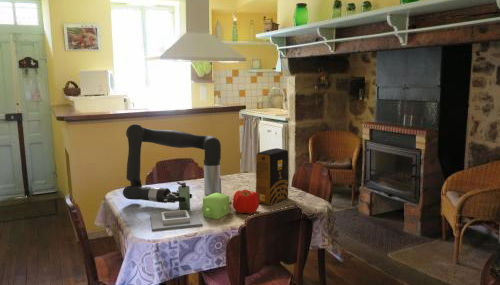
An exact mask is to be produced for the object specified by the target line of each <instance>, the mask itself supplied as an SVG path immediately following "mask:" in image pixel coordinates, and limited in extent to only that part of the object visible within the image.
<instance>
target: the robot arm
mask: <svg viewBox="0 0 500 285" xmlns="http://www.w3.org/2000/svg"><path fill="white" fill-rule="evenodd" d="M125 134H126V138H127V142H128V143H127V144H128V151H127V152H128V153H127V163H126V180H127V181H128V182H129V184H130V185H127V186H126V187H124V188H123V189H122V195H123V198H125V199H127V200H135V201H137V200H138V201H139V200H141V201H149V202H154V203H162V204H167V203H168V204H169V203H170V204H176V203H179V202H186V198H185V197H179V196H178V190H176V191H171V190H170V188H167V187H165V188H164V187H155V186H154V187H151V186H143V184H142V180H141V164H142V163H141V155H142V154H141V152H142V143H143V142H144V143H151V144H156V145H160V146H164V147H170V148H175V149H176V148H177V149H186V148H187V149H188V148H194V149H199V150H203V151H204V158H203V183H204V184H203V185H204V186H203V187H204V188H203V189H204V195H205V196H208V195H211V194H213V193H221V194H222V177H221V157H222V152H221V150H222V148H221V146H222V145H221V141H220V140H219V139H218V137H215V136H213V135H198V134H197V135H196V134H193V133H188V132H185V131H178V130H173V129H152V128H147V127H144V126H142V125H140V124H138V123H133V124H130V125H129V126H128V127H127V128H126V131H125ZM192 198H193V195H192V193H190V199H192Z"/></svg>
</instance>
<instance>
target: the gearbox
mask: <svg viewBox="0 0 500 285" xmlns="http://www.w3.org/2000/svg"><path fill="white" fill-rule="evenodd" d="M231 205H233V200H230V196H229V195H228V194H226V193H225V194H224V193H222V192H221V193H213V194H211V195H205V196H204V197H202V216H203V217H206V218H209V219H214V220H218V219H220V218H222V217H223V216H226V215H228V214H229V213H230V206H231Z"/></svg>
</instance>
